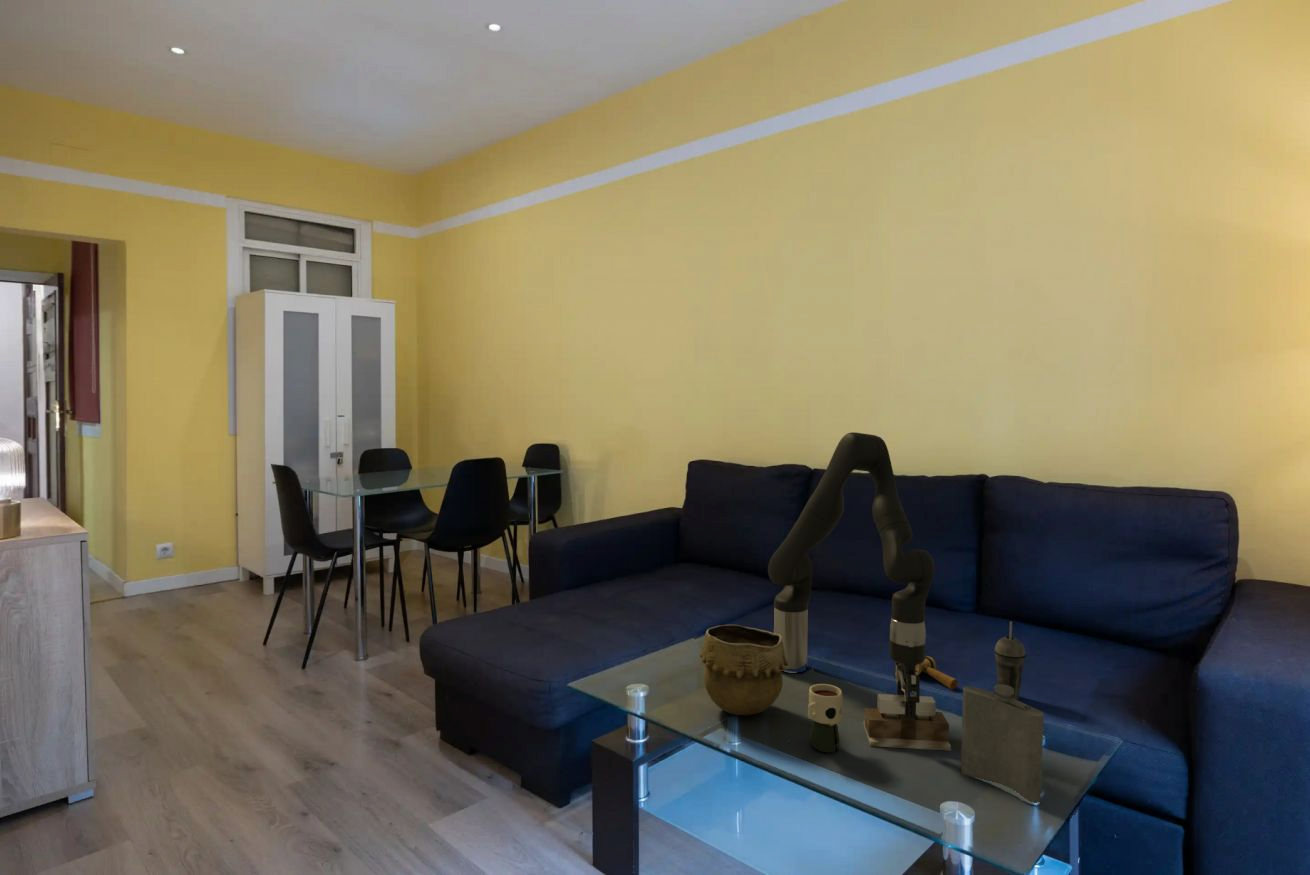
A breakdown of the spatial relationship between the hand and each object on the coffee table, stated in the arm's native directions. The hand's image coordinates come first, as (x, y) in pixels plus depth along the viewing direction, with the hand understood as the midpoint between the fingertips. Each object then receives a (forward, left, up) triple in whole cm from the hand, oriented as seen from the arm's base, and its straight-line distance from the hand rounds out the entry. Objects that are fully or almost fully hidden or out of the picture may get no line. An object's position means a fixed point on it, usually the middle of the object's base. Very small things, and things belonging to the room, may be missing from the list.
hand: (906, 708), depth 163 cm
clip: (0, 0, -6) cm, 6 cm away
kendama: (+13, +36, -7) cm, 39 cm away
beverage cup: (+30, +25, -7) cm, 40 cm away
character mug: (-18, -7, -7) cm, 21 cm away
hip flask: (+14, -18, -7) cm, 24 cm away
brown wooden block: (0, 0, -7) cm, 7 cm away
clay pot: (-36, +9, -7) cm, 38 cm away
